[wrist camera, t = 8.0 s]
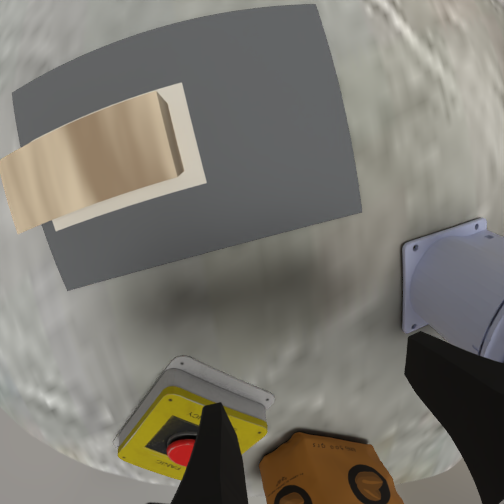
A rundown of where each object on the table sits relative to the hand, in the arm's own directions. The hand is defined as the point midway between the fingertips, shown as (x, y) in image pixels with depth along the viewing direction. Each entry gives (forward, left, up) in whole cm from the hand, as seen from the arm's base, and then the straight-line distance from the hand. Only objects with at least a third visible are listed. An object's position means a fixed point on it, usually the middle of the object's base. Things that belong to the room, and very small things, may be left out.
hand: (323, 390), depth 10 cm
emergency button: (+10, +12, -11) cm, 19 cm away
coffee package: (-1, +22, -11) cm, 25 cm away
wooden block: (+3, -10, -8) cm, 13 cm away
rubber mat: (+3, -10, -10) cm, 15 cm away
